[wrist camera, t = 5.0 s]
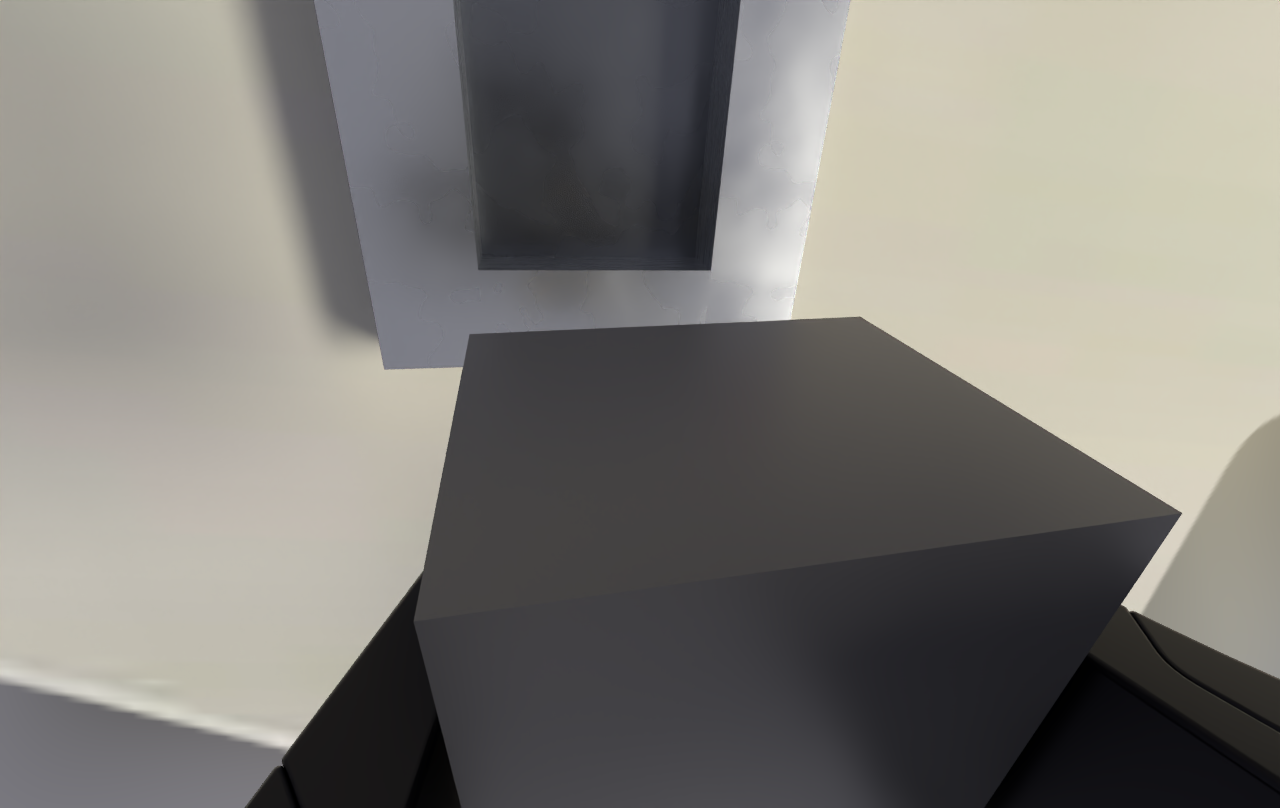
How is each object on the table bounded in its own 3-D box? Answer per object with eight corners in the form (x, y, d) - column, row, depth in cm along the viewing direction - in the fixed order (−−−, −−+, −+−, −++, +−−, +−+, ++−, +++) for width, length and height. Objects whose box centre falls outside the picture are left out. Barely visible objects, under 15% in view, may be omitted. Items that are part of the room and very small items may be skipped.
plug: (765, 581, 11) (927, 890, 7) (513, 618, 10) (512, 1008, 6) (823, 294, 8) (1181, 512, 4) (474, 306, 7) (414, 621, 3)
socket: (761, 336, 20) (791, 363, 18) (397, 344, 18) (379, 377, 16) (844, -173, 14) (906, -229, 12) (290, -270, 11) (233, -367, 9)
